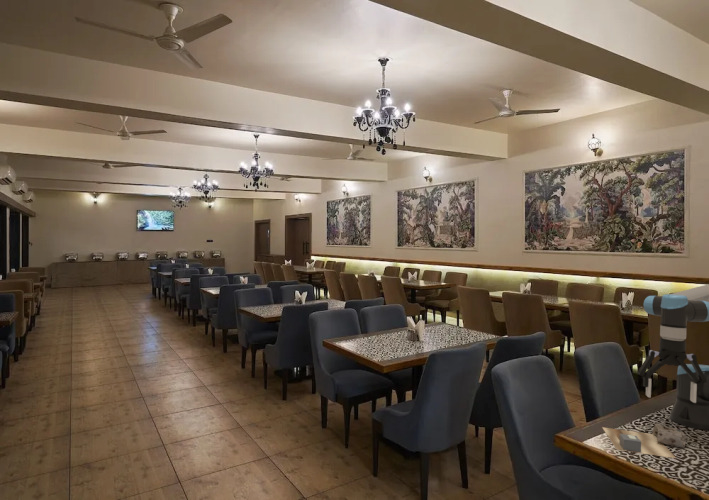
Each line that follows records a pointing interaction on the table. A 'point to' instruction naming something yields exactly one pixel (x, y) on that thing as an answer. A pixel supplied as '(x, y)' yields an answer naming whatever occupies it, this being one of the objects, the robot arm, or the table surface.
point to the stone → (669, 436)
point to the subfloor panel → (647, 442)
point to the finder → (630, 443)
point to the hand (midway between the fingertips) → (670, 399)
